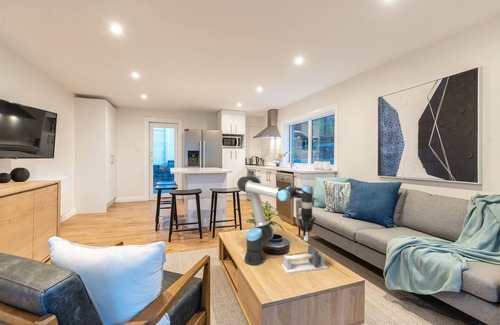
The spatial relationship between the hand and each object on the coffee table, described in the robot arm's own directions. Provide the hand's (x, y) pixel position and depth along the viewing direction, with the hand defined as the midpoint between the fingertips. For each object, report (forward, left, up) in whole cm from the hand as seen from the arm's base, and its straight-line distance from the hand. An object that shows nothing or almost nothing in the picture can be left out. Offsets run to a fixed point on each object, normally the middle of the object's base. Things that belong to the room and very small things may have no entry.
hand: (305, 240), depth 165 cm
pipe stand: (-2, 0, -19) cm, 19 cm away
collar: (+5, 0, -17) cm, 18 cm away
